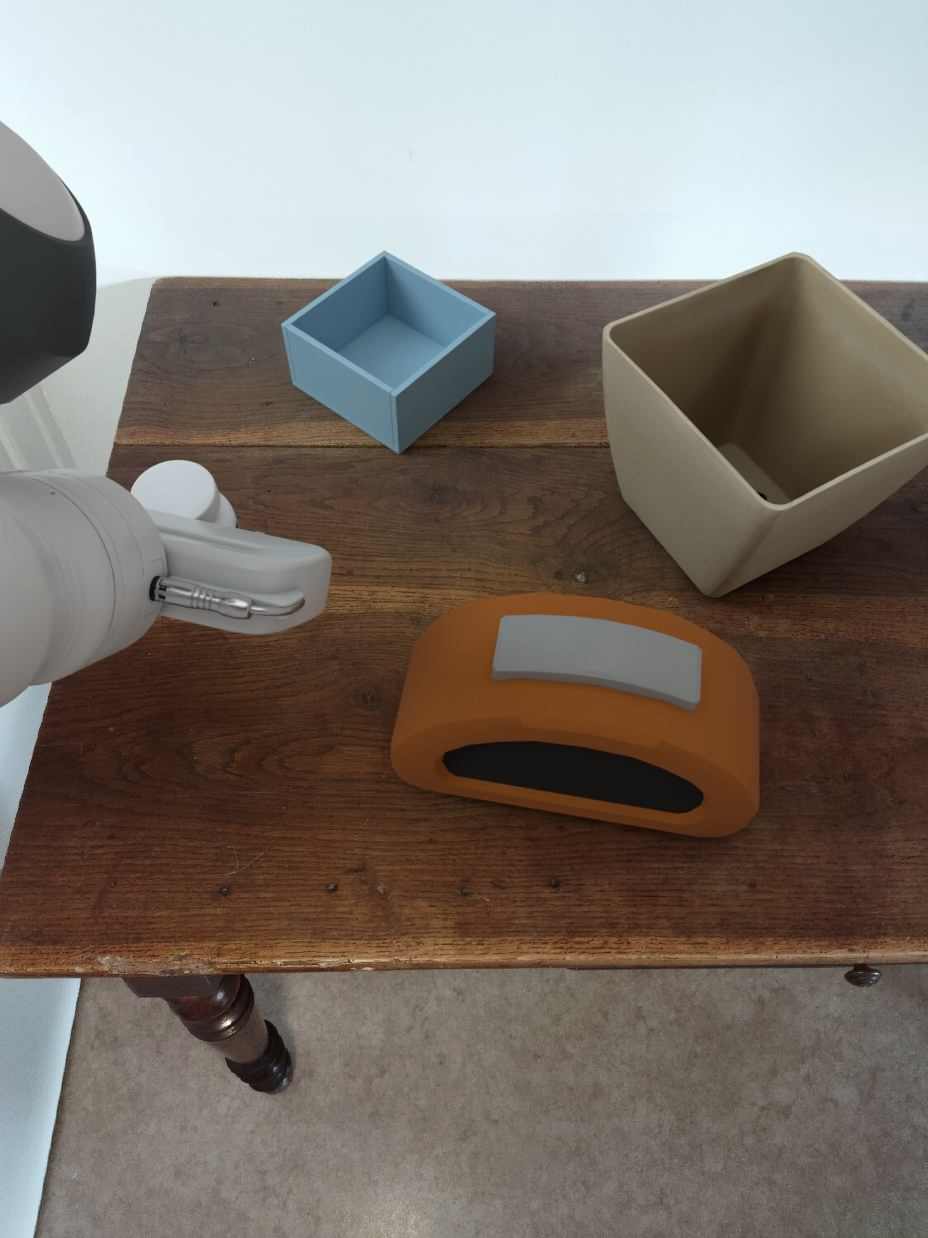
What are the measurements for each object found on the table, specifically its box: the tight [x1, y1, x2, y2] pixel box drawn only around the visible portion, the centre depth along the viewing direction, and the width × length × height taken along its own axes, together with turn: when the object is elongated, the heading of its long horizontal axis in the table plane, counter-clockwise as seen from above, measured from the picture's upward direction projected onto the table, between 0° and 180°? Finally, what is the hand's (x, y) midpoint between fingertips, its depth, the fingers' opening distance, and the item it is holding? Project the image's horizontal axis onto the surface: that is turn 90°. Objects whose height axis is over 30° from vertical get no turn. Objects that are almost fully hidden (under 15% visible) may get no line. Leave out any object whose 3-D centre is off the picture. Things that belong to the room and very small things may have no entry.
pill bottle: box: [130, 459, 240, 529], centre depth 53 cm, size 6×6×10 cm
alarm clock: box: [390, 591, 760, 838], centre depth 56 cm, size 23×9×17 cm, turn 80°
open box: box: [280, 250, 497, 455], centre depth 79 cm, size 13×13×7 cm
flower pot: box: [601, 251, 928, 599], centre depth 68 cm, size 19×19×17 cm
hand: (196, 531), depth 53 cm, fingers closed on pill bottle, 6 cm apart
